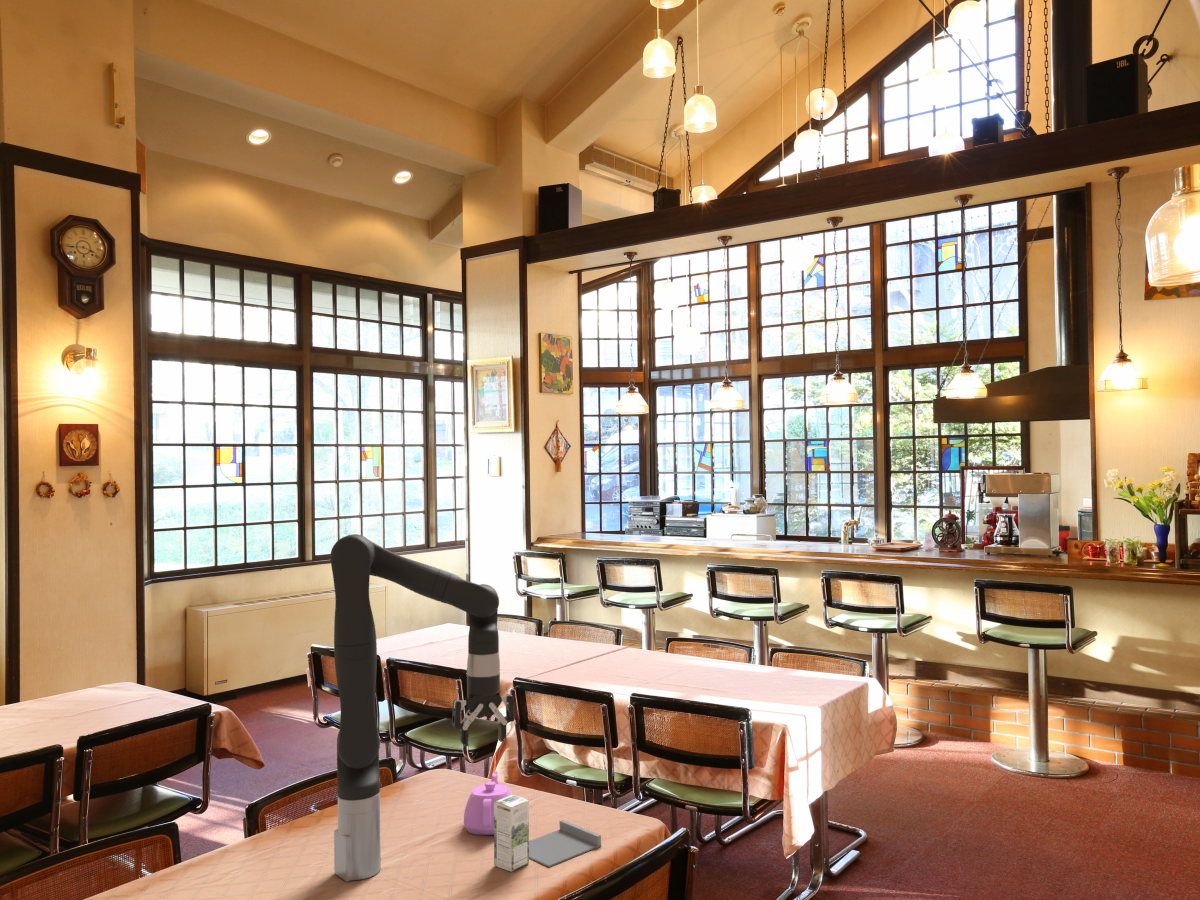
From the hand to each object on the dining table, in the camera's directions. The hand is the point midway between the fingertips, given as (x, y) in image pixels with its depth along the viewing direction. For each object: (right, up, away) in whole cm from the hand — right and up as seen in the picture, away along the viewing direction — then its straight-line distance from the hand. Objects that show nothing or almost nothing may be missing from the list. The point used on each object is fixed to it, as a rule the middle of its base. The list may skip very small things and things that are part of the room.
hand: (483, 743), depth 198 cm
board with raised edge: (+16, -26, +5) cm, 31 cm away
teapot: (-1, -28, +19) cm, 34 cm away
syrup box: (+7, -26, -4) cm, 28 cm away
